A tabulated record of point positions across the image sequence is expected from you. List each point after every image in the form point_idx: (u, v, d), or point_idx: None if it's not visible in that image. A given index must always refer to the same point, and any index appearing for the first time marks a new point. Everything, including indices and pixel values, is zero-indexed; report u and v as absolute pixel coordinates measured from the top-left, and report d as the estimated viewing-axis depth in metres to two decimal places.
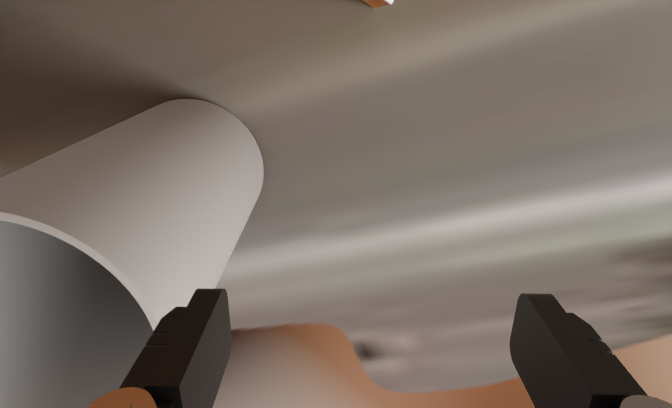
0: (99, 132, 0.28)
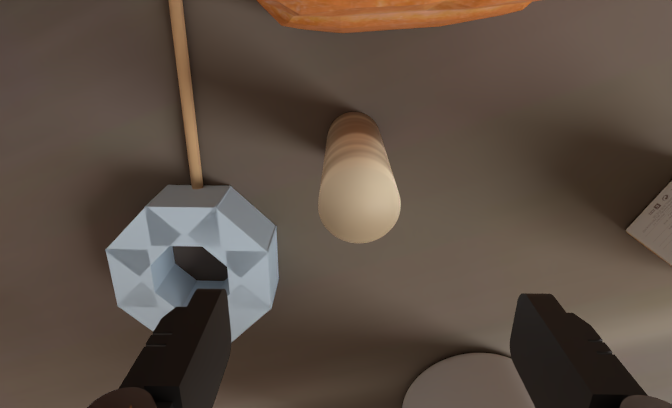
0: None
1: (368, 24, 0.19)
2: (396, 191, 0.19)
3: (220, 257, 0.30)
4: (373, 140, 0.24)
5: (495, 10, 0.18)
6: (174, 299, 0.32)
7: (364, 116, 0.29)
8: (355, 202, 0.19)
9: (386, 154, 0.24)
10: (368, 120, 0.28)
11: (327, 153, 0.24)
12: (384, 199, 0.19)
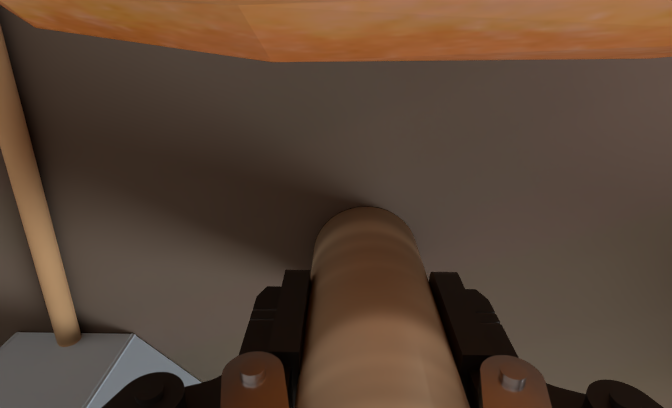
0: None
1: (402, 50, 0.04)
2: None
3: None
4: (427, 346, 0.09)
5: None
6: None
7: (388, 221, 0.14)
8: None
9: (457, 371, 0.09)
10: (398, 234, 0.14)
11: (304, 381, 0.09)
12: None
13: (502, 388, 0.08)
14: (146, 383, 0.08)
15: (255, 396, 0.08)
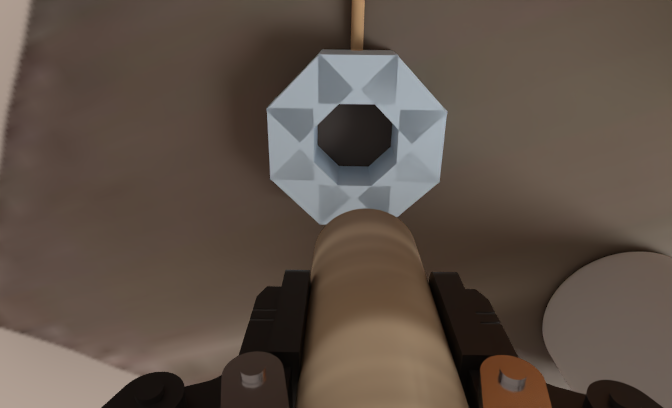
0: None
1: None
2: None
3: (393, 118, 0.27)
4: (427, 348, 0.09)
5: None
6: (329, 174, 0.29)
7: (388, 223, 0.14)
8: None
9: (457, 374, 0.09)
10: (398, 236, 0.14)
11: (304, 383, 0.09)
12: None
13: (502, 388, 0.08)
14: (146, 383, 0.08)
15: (255, 397, 0.08)
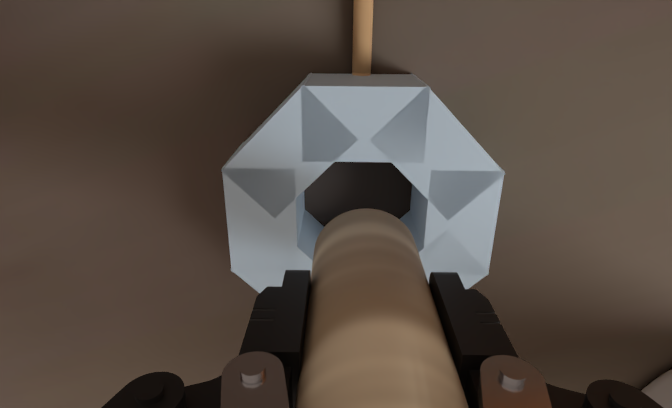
0: None
1: None
2: None
3: (419, 182, 0.17)
4: (427, 349, 0.09)
5: None
6: None
7: (388, 223, 0.14)
8: None
9: (457, 374, 0.09)
10: (398, 236, 0.14)
11: (304, 383, 0.09)
12: None
13: (502, 388, 0.08)
14: (146, 383, 0.08)
15: (255, 396, 0.08)
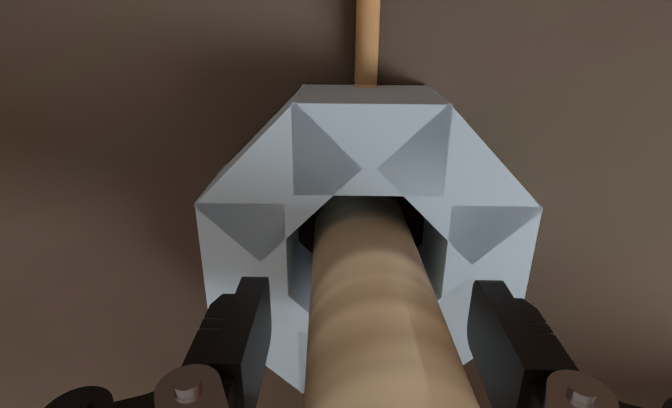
0: None
1: None
2: None
3: (438, 220, 0.14)
4: (410, 270, 0.12)
5: None
6: None
7: None
8: None
9: None
10: (386, 199, 0.16)
11: (316, 299, 0.12)
12: None
13: (574, 406, 0.08)
14: (70, 400, 0.08)
15: None
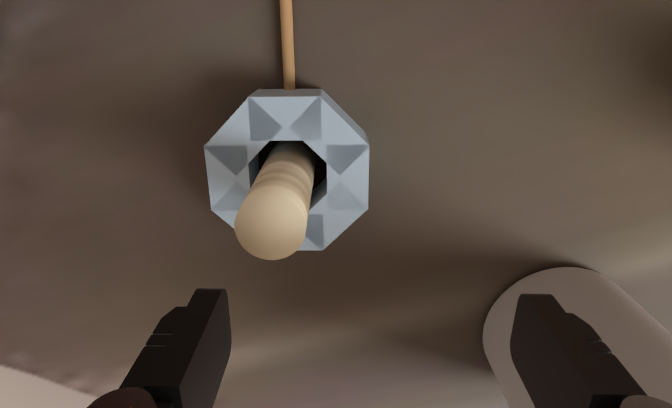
0: (628, 368, 0.26)
1: None
2: (300, 214, 0.22)
3: (320, 152, 0.29)
4: (295, 167, 0.27)
5: None
6: None
7: (298, 143, 0.32)
8: (266, 225, 0.22)
9: (308, 179, 0.27)
10: (301, 147, 0.32)
11: None
12: (291, 222, 0.22)
13: None
14: None
15: None
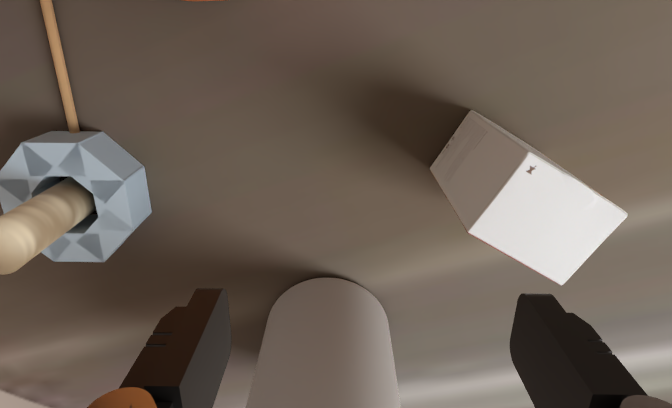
0: (297, 361, 0.33)
1: None
2: (15, 242, 0.30)
3: (86, 185, 0.37)
4: (51, 200, 0.34)
5: None
6: None
7: None
8: None
9: (64, 209, 0.35)
10: None
11: None
12: (10, 247, 0.30)
13: None
14: None
15: None
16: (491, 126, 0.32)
